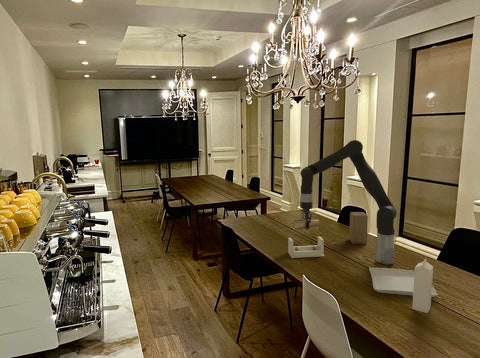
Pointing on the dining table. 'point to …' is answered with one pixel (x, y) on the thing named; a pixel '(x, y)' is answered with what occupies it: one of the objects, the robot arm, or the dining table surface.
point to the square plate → (394, 281)
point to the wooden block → (358, 227)
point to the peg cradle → (306, 249)
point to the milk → (422, 287)
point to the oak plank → (301, 224)
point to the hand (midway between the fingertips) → (306, 227)
